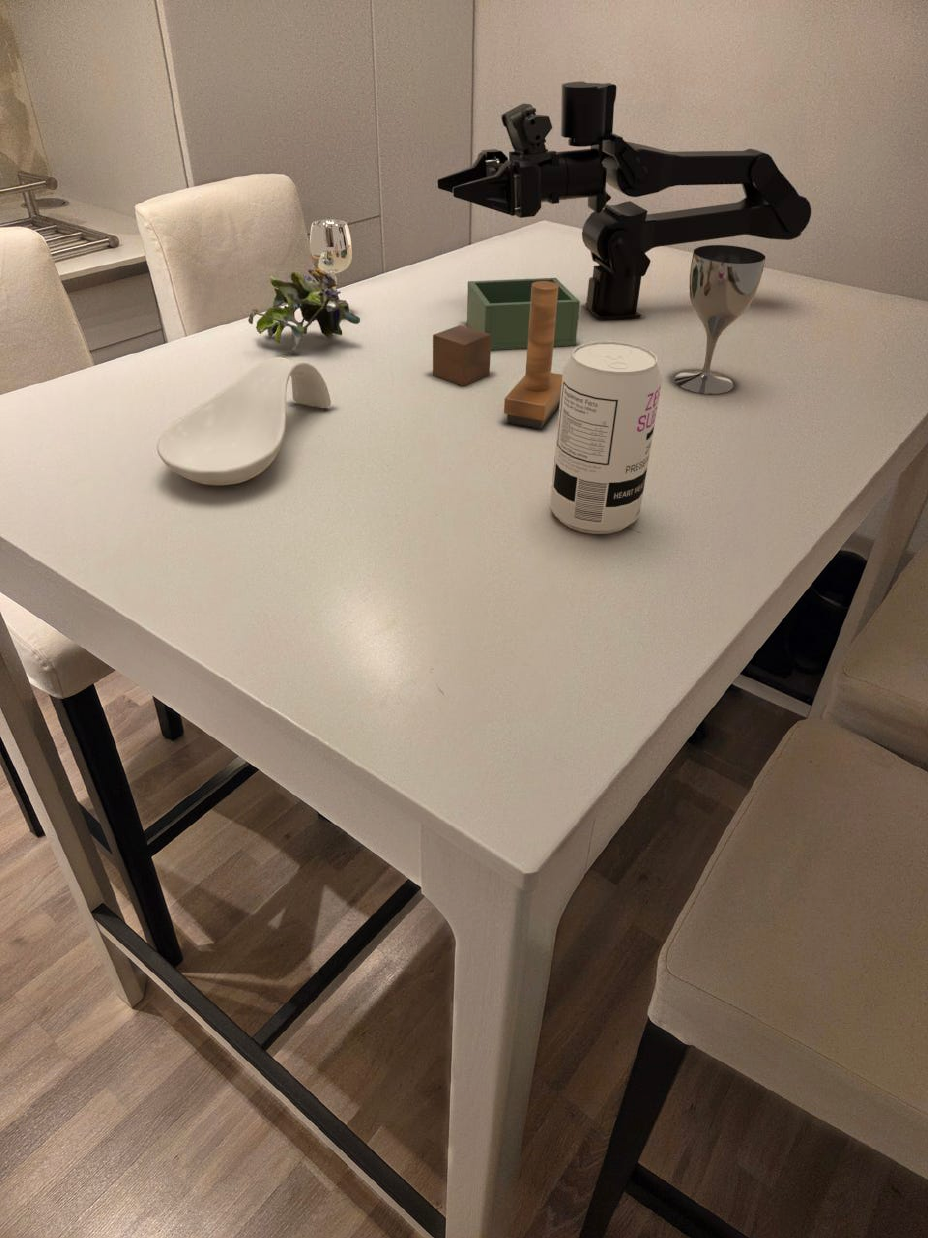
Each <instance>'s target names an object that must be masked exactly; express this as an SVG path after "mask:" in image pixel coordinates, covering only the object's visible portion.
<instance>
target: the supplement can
mask: <svg viewBox="0 0 928 1238" xmlns="http://www.w3.org/2000/svg"><path fill="white" fill-rule="evenodd" d="M562 368H563V369H562V375H563V376H562V386H561V396H560V404H559V406H558V407H559V408H558V417H557V428H556V438H555V439H556V440H555V448H554V459H553V468H552V469H553V470H552V480H551V491H550V502H549V505H550V506H549V508H550V510H551V512H552V513H553V515H554V516H555V517H556V518H557V519H558V520H559V522H560V523H562V524H563V525H565V526H566V527H568V528H569V529H572V530H574V531H577V532H580V533H585V534H593V535H609V534H613V533H617V532H621V531H622V530H624V529H626V528H627V527H629V526H630V525H632V524H634V523H635V522H636V521H637V520H638V517H639V516H640V513H641V506H642V501H643V497H644V491H645V489H644V488H645V483H646V477H647V472H648V466H649V460H650V456H651V455H650V453H651V449H652V443H653V436H654V432H655V431H654V430H655V426H656V425H655V424H656V418H657V414H658V413H657V412H658V406H659V400H660V397H661V396H660V395H661V394H660V393H661V390H662V384H663V383H662V382H663V378H662V374H661V370H660V368H659V365H658V358H657V354H656V353H654V352H652V351H651V350H650V349H648V348H645V347H643V346H641V345H637V344H633V343H629V342H623V341H614V340H609V341H607V340H606V341H605V340H603V341H602V340H599V341H592V342H591V341H590V342H586V343H583V344H580V345H578V346H575V348H574V349H573V350H572V351H571V355H570V357H569V358H568V360H567V361H566V363H565V365H564V366H563V367H562Z"/></svg>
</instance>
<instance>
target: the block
mask: <svg viewBox="0 0 928 1238" xmlns="http://www.w3.org/2000/svg"><path fill="white" fill-rule="evenodd" d="M491 351H492V350H491V334H488V333H484V332H481V331H478V330H475V329H472V328H469V326H465V325H462V324H459V325H455V326H454V327H451V328H448V329H445V330H442V331H440V332H437V333H434V334H432V376H435V377H438V378H440V379H443V380H445V381H449V382H452V383H454V384H456V385H459V386H463V387H464V386H467V385H469V384H471V383H474V382H476V381H478V380H480V379H483V378H486V377H488V376H490V374H491V353H492V352H491Z"/></svg>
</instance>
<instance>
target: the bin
mask: <svg viewBox="0 0 928 1238" xmlns="http://www.w3.org/2000/svg"><path fill="white" fill-rule="evenodd" d="M538 281H549V282H554V283H556V284H558V286H559V288H558V299H557V311H556V322H555V333H554V345H553V348H555V347H571V346H572V347H573V346H576V344H577V334H578V325H579V316H580V315H579V313H580V305H581V301H580V300H579V299H578V298H577V297H576V296H575V295H574V294H573V293H572V292H571V291H570V290H569V289H568V288H567V287H566V286H565V285H564V284H563V283H562V282H561V281H560V280H559V279H558V278H557V277H542V278H541V277H539V278H514V279H513V278H511V279H492V280H491V279H490V280H489V279H487V280H468V281H467V294H466V295H467V296H466V298H467V299H466V325H467V327H468V328H472V329H475V330H478V331H481V332H484V333H488V334H491V351H500V350H516V349H517V350H518V349H527V345H528V330H529V316H530V301H531V287H532V283H534V282H538Z"/></svg>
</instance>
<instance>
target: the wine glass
mask: <svg viewBox="0 0 928 1238" xmlns="http://www.w3.org/2000/svg"><path fill="white" fill-rule="evenodd" d="M765 263H766V256H765V254H763V253H762V252H761V251H758V250H755V249H752V248H749V247H744V246H737V245H729V244H709V245H701V246H698V247H696V248H694V250H693V253H692V259H691V263H690V272H689V285H688V287H689V299H690V304H691V306H692V308H693V310H694V312H695V314H696V315H697V316H698V318H699V320H700V321H701V323H702V325H703V327H704V330H705V333H706V347H705V357H704V362H703V367H702V369H701V370H689V371H682V372H680V373H678V374H677V375H675V377H674V383H675V384H676V385H677V386H678V387H680V388H682V389H683V390H687V391H689V392H694V393H696V394H697V393H698V394H703V395H704V394H705V395H719V394H725V393H728V392H730V391H732V390H733V388H734V382H733V381H732V380H731V379H730V378H728V377H726V376H724V375H722V374H719V373H715V372H711V364H712V360H713V356H714V353H715V349H716V346H717V343H718V340H719V338H720V336H721V335H722V334H723V332H724V331H725V330H726V329H727V328H728V327H729V326H730V325H731V324H733V323H734V322H735V321H736V320H737V319H738V318H740V317H741V316H742V315H744V313H745V312H746V311H747V310H748V309H749V307H750V305H751V304H752V302H753V300H754V297H755V296H756V294H757V291H758V289H759V286H760V284H761V279H762V275H763V272H764V268H765Z"/></svg>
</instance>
